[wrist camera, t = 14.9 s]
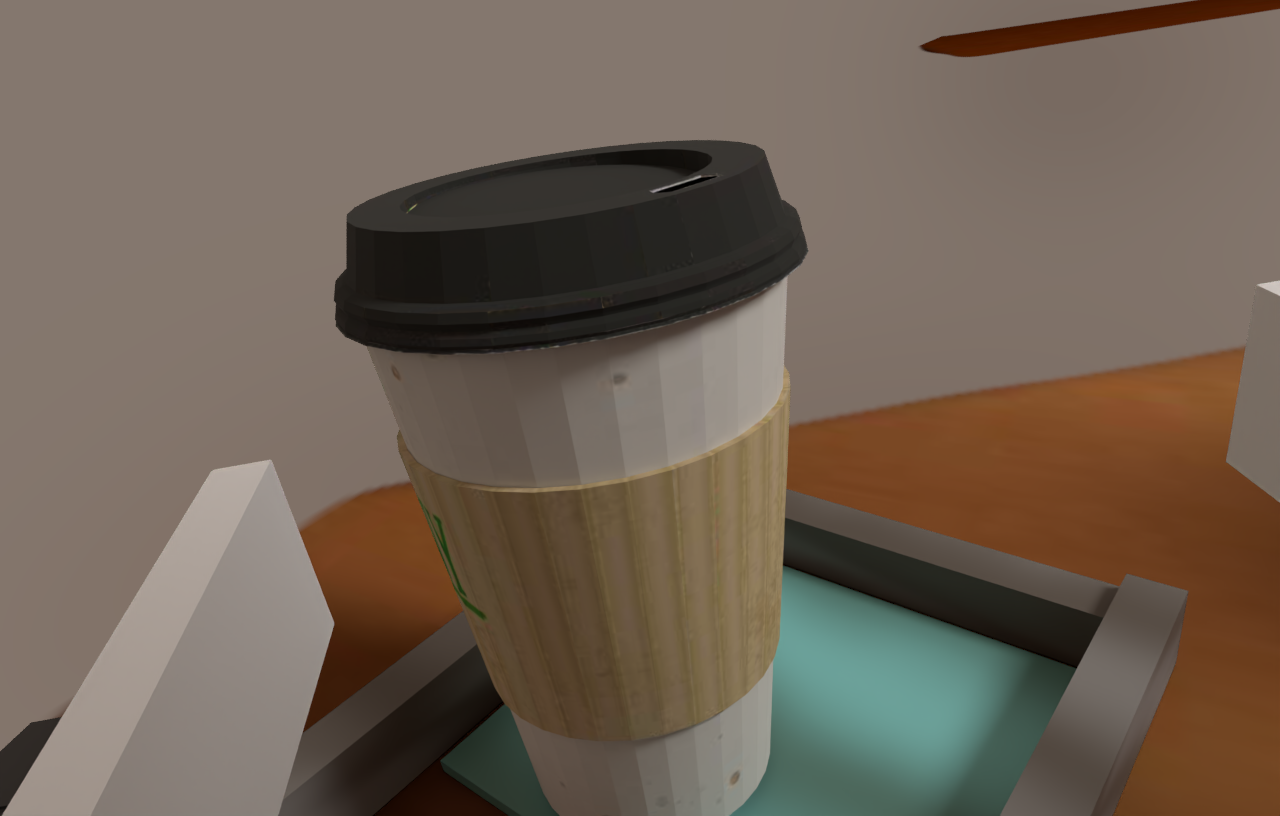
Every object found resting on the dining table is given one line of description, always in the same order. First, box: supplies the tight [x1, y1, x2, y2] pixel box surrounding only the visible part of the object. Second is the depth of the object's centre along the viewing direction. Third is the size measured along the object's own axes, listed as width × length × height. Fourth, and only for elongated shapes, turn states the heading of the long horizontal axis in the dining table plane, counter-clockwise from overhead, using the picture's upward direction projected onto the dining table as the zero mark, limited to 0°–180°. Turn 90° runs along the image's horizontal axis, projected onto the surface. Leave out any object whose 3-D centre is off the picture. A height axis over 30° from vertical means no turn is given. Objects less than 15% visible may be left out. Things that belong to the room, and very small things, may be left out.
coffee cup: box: [334, 140, 808, 816], centre depth 22 cm, size 10×10×15 cm
